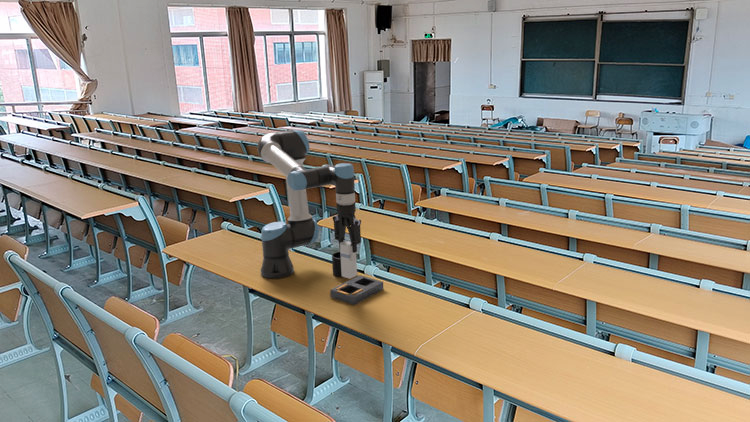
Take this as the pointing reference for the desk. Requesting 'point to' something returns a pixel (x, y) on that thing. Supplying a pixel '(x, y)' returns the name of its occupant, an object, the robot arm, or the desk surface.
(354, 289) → the jack panel
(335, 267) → the mug
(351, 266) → the plug
